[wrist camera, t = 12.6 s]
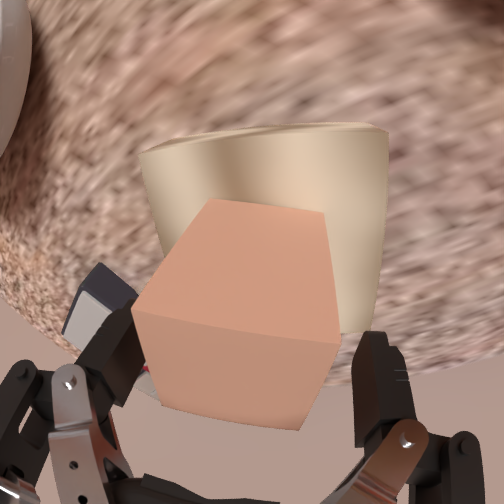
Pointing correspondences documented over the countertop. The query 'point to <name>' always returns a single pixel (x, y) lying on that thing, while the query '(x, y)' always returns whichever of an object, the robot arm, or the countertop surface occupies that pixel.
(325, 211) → the birch block
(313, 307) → the terracotta block
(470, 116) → the countertop surface
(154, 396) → the grey and red box
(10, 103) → the serving bowl
